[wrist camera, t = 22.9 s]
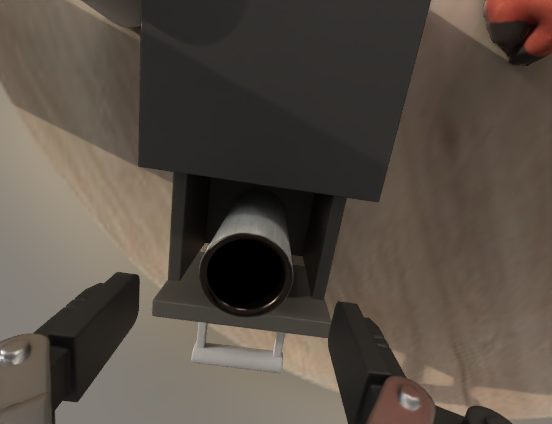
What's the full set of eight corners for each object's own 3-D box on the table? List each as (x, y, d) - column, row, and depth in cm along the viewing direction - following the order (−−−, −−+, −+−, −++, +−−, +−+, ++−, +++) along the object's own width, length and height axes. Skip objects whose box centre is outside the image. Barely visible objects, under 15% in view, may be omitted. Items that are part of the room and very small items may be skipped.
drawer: (302, 330, 28) (312, 405, 20) (184, 315, 27) (149, 386, 19) (344, 128, 22) (379, 125, 15) (199, 105, 22) (159, 90, 14)
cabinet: (338, 175, 24) (379, 202, 15) (192, 153, 24) (137, 166, 14) (381, -24, 20) (472, -159, 11) (206, -56, 20) (144, -228, 10)
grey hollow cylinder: (231, 187, 22) (197, 229, 13) (287, 191, 23) (298, 236, 13) (230, 239, 24) (197, 315, 14) (283, 243, 24) (289, 321, 14)
